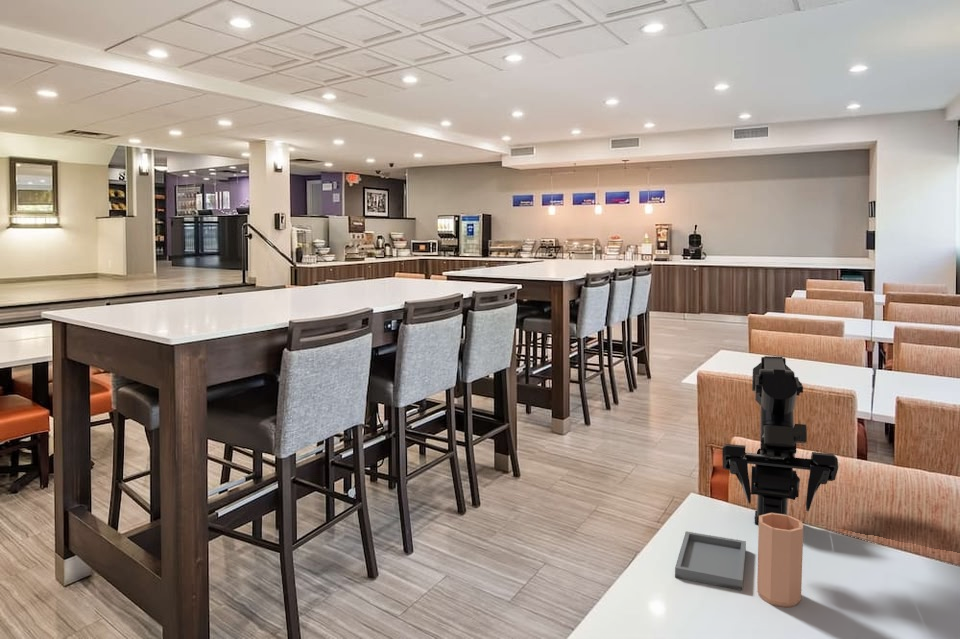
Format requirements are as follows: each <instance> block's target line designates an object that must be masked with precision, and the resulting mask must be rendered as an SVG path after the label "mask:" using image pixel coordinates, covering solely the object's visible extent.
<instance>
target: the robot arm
mask: <svg viewBox="0 0 960 639" xmlns="http://www.w3.org/2000/svg"><path fill="white" fill-rule="evenodd" d="M760 361H761V362H760V363H758V364H757V365H756V366H754V367H753V368H752V385H751V386H752V387H751V388H752V389H751V390H752V392H755V394H754V396H755V397H754V398H755V401H756V402H757V404H758V405H760V447H759V448H758V449H757V451H756V453H753V452H746V445H743V444H742V445H741V444H733V443H732V444H729V443H725V444H724V445H723V446H722V460H721V461H722V469H723V470H727V471H729V473H730V474H731V475H734V476H736V478H737V480H738V482H739V484H740V485H741V488H742V490H743V493H744V495H745V498H746V501H747V503H748V504H752V496H754V495H755V496H757V499H756V500H757V502H756V503H757V504H756V506H757V507H756V510H755V511H754V525H756V526H759V516H760V515H764V514H768V513H777V514H784V515H788V499H789V500H793V501H796V498H799V495H800V494H799V493H800V483H801V478H800V477H799V476H798V473H797V470H807V471H809V474H808V475H809V476H808V479H807V480H808V481H807V487H806V488H807V490H806V497H805V498H806V500H805V509H806V510H805V511H806V512H810V510H811V506H812V503H813V499H814V497H815V495H816V493H817V491H818V489H819V487H820V486H821V485H827V484H828V482H833V481H835V480H836V478H837V474H838V471H839V460H838V457H837V456H836V455H835V454H834V453H827V452H817V451H812V452H811V456H810V458H803V457H796V454H797V444H804V445H805V444H806V443H807V442H808V441H807V438H808V434H807V433H808V432H807V430H808V429H807V424H806V423H805V424H803V423H794V421H795V420H794V419H795V418H794V410H795V407H796V400H797V397H799V396H800V395H801V394H800V393H803V394H804V385H803V384H802V382H801V381H800V380H799V377H798V376H796V375H795V374H796V373H795V371H794V370H792V369H791V368H790V367H789V366H788V365H787V363H786V362H787V360H786V357H783V356H769V355H764V356H761V360H760ZM748 465H751V473H750V474H751V475H750V476H749V467H748ZM794 469H797V470H794Z"/></svg>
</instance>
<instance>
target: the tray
mask: <svg viewBox="0 0 960 639" xmlns="http://www.w3.org/2000/svg"><path fill="white" fill-rule="evenodd" d="M683 536H684V537H683V539H682V543H681V547H680V550H679V553H678V556H677V560H676V563H675V567H674V578H676V579H677V578H678V579H681V580H688V581H691V582H693V581H694V582H698V583H702V584H708V585H713V586H716V587H717V586H718V587H723V588H727V589H731V590H733V589H734V590H736V591H737V590H738V591H743V589H744V588H743V587H744V577H745V565H746V550H747V541H746V540H740V539H734V538H729V537H727V538H726V537H722V536H716V535H710V534H705V533H698V532H693V531H685V532H684V535H683Z"/></svg>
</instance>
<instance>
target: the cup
mask: <svg viewBox="0 0 960 639" xmlns="http://www.w3.org/2000/svg"><path fill="white" fill-rule="evenodd" d="M757 537H758V538H757V539H758V541H757V544H758V545H757V573H756V574H757V576H756V577H757V578H756V579H757V581H756V582H757V583H756V584H757V586H756V587H757V591H756V592H757V593H758V596H759V598H760V599H761V600H762V601H764V602H766V603H768V604H770V605H772V606H775V607H781V608H792V607H796V606H798V605H799V603H800V601H802V583H803V582H802V580H803V579H802V578H803V553H804V552H803V551H804V550H803V549H804V548H803V546H804V525H803V521H802V520H799V519H798V518H795V517H793V516H791V515H789V514H787V515H784V514H777V513H768V514H764V515H760V516H759V525H758V536H757Z"/></svg>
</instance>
